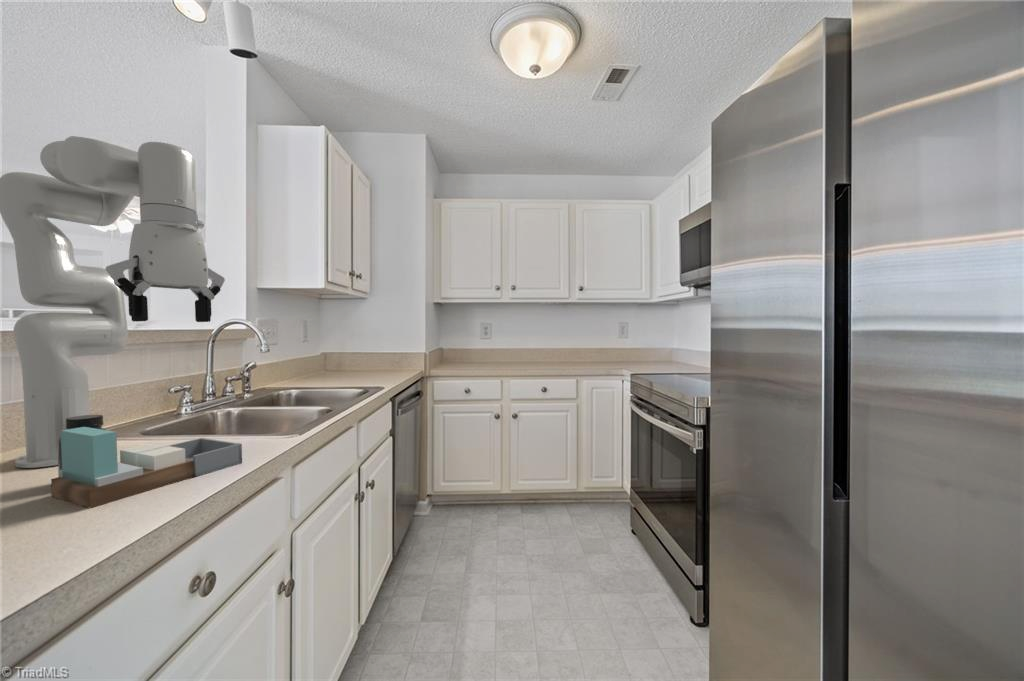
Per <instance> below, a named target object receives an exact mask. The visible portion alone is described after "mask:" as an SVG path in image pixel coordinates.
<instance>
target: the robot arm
mask: <svg viewBox="0 0 1024 681" xmlns="http://www.w3.org/2000/svg"><path fill="white" fill-rule="evenodd" d="M39 156H40V157H39V159H40V162H41V164H42V167H43V168H44V170H45V171H46V172H47V173H48V174H49V175H51V176H48V175H44V174H38V173H31V172H24V171H23V172H22V171H21V172H19V171H16V172H15V171H13V172H6V173H4V174H2V175H1V177H0V216H1V218H2V220H3V222H4V224H5V226H6V227H7V229H8V231H9V233H10V235H11V238H12V240H13V245H14V252H15V258H16V262H15V263H16V269H17V276H18V277H17V278H18V283H19V284H18V285H19V289H20V290H19V291H20V294H21V296H22V298H23V300H24V301H26V303H28V304H30V305H33V306H37V307H48V308H69V309H70V308H72V309H75V308H76V309H78V308H79V309H90V311H91V312H92V313H88V312H87V313H85V312H84V313H83V312H82V313H79V312H56V311H55V312H53V311H52V312H35V313H30V314H27V315H24V316H22V317H20V318H19V319H17V321H16V322H15V324H14V325H13V337H14V341H15V342H14V343H15V346H16V348H17V352H18V356H19V361H20V366H21V377H22V390H23V411H24V412H23V414H24V434H25V439H24V440H25V455H24V456H20V457H19V458H17V459H15V460H14V466H15V467H16V468H19V469H36V468H38V469H39V468H46V467H54V466H58V439H59V438H60V436H61V431H62V430H68V429H66V428H65V426H66V419H67V418H70V417H75V416H83V415H90V399H89V398H90V395H89V394H90V393H89V392H90V391H89V378H88V375H87V372H86V371H85V370H84V369H83V368H82V367H81V366H80V365H79V364H77V363H76V361H74V360H73V358H74V357H83V356H85V357H86V356H87V357H88V356H105V355H115V354H118V353H121V352H122V351H123V350H125V348H126V347H127V344H128V340H129V331H128V321H127V314H126V304H125V298H124V296H125V297H128V298H127V299H128V300H127V301H128V315H129V316H130V317H131V321H132V322H147V321H148V320H149V312H148V311H149V308H148V307H149V306H148V297H147V296H146V295H144V293H145V292H146V291H148V289H149V288H158V289H159V288H160V289H161V288H162V289H176V290H190V291H191V292H192V294H194V295H195V296H196V298H197V299H196V300H195V301H194V311H195V312H194V314H195V315H194V316H195V322H197V323H205V322H206V323H210V322H211V317H212V301H213V300H214V299H215V297H216V296H217V295H218V294H219V293H220V292H221V288H222V287H223V284H224V283H225V280H226V279H225V277H223V275H221V274H219V273H218V272H216V271H214V270H213V269H211V268H209V267H208V260H207V253H206V247H205V243H204V240H203V236H202V233H201V232H200V231H198V230H199V229H203V228H204V226H205V224H204V221H202V220H199V219H198V215H197V214H198V213H197V212H198V211H197V185H196V182H197V181H196V161H195V158H194V156H193V155H192V154H191V152H190V151H188V150H186V149H185V148H183V147H181V146H177V145H175V144H171V143H168V142H167V143H166V142H161V141H147V142H144V143H141V145H140V146H139V147H138V151H136V150H132V149H129V148H125V147H123V146H120V145H116V144H112V143H109V142H105V141H103V140H98V139H95V138H89V137H83V136H77V135H76V136H74V135H73V136H72V135H70V136H68V137H66V138H65V139H64V140H56V141H53V142H50V143H48V144H46V145H44V147H43V148H42V149H41V151H40V155H39ZM134 197H137V198H139V214H140V215H139V216H140V217H139V218H140V223H135V224H134V225H133V229H132V233H131V237H130V244H129V250H128V259H125V260H122V261H120V262H116V263H113V264H109V265H106V266H105V268H103V267H102V268H101V267H97V266H96V267H95V266H85V265H80V264H77V263H76V261H75V254H74V247H73V244H72V241H71V239H69V237H68V236H67V235H66V234H65V233H64V232H63V231H62V230H61V229H60V228H59V227H57V226H56V225H55V224H54V223H52V222H51V221H50V220H49V219H54V220H59V221H60V220H61V221H64V222H70V223H71V222H72V223H78V224H83V225H91V226H94V227H95V226H97V227H107V226H110V225H112V224H114V223H115V222H117V220H118V218H120V216H122V213H123V212H124V211H125V209H126V208H127V207H128V205H130V203H131V202H132V201H133V199H134ZM124 271H127V272H128V273H127V275H128V278H127V277H125V274H124ZM209 280H210V281H211V285H210V286H209V287H208V283H209ZM72 357H73V358H72Z"/></svg>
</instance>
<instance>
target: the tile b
mask: <svg viewBox="0 0 1024 681" xmlns="http://www.w3.org/2000/svg"><path fill="white" fill-rule="evenodd" d="M166 446H167V447H163V448H158V449H154V450H150V451H145V452H141V453H137V456H138V467H142V468H145V469H150V470H158V469H162V468H165V467H169V466H173V465H176V464H180V463H184V462H185V449H183V448H177V447H171V446H169V445H166Z"/></svg>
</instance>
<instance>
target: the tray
mask: <svg viewBox="0 0 1024 681" xmlns="http://www.w3.org/2000/svg"><path fill="white" fill-rule="evenodd" d="M168 446H171V447H177V448H183V449H185V459H186V460H191V461H194V477H193V478H197V477H200V475H201V476H203V474H204V475H207V474H209V473H213V471H214V472H216V470H217V471H221V470H223V469H226V467H227V468H230V467H233V466H236V465H240V464H242V463H243V445H242V443H240V442H233V441H232V442H231V441H227V440H226V441H225V440H218V439H212V438H204V437H201V438H200V437H199V438H195V439H192V440H187V441H182V442H179V443H178V442H177V443H173V444H168ZM206 473H207V474H206ZM196 476H197V477H196Z"/></svg>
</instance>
